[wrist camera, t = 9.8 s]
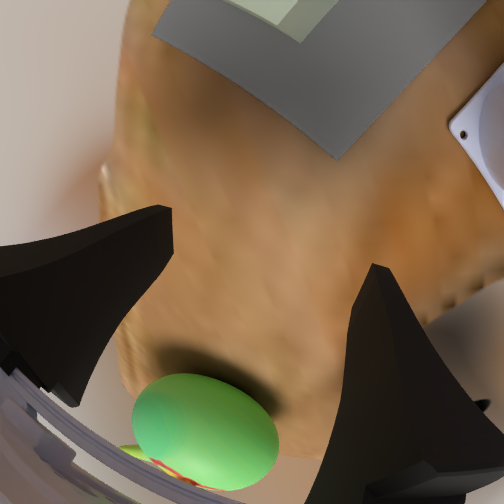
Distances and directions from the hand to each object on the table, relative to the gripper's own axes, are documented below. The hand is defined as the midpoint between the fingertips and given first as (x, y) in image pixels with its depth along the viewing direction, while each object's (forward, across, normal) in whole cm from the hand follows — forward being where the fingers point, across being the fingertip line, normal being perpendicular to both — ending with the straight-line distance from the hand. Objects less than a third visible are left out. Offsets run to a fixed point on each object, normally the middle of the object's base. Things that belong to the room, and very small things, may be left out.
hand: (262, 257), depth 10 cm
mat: (+8, 0, -14) cm, 17 cm away
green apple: (+9, +4, +29) cm, 31 cm away
